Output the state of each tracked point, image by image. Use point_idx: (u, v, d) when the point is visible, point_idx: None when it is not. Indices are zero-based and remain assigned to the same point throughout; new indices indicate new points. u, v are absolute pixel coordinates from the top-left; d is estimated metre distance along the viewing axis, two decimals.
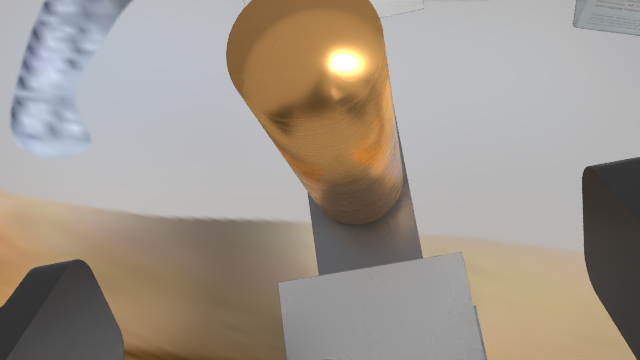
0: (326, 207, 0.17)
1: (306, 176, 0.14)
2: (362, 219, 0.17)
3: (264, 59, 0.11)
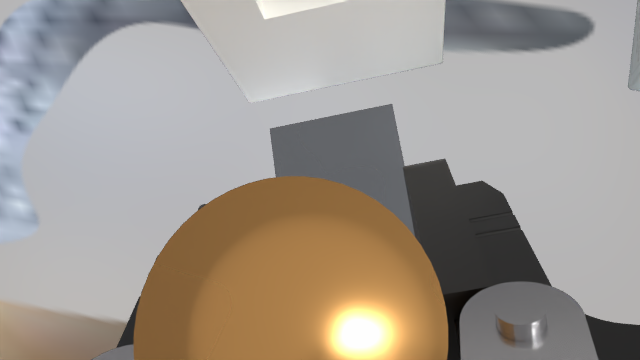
0: None
1: None
2: None
3: (207, 356, 0.05)
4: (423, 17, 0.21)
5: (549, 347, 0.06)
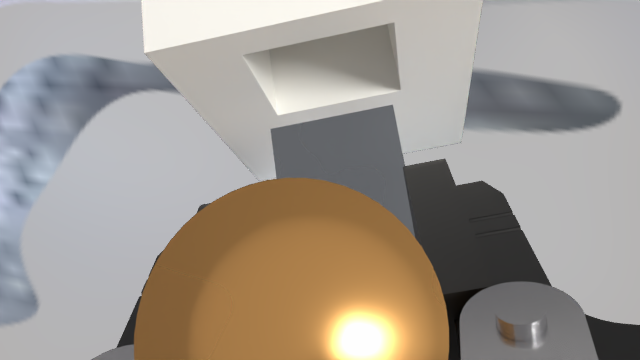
0: None
1: None
2: None
3: (207, 358, 0.05)
4: (444, 107, 0.20)
5: (549, 347, 0.06)
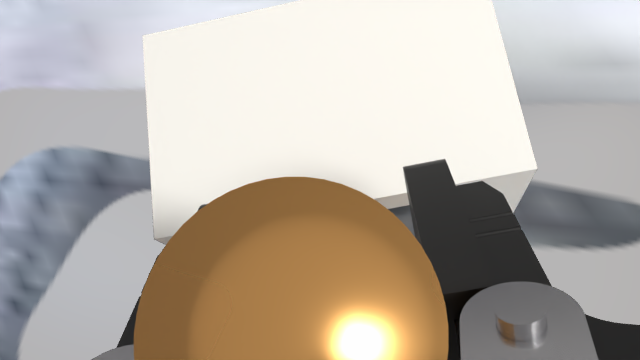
0: None
1: None
2: None
3: (207, 356, 0.05)
4: None
5: (549, 347, 0.06)
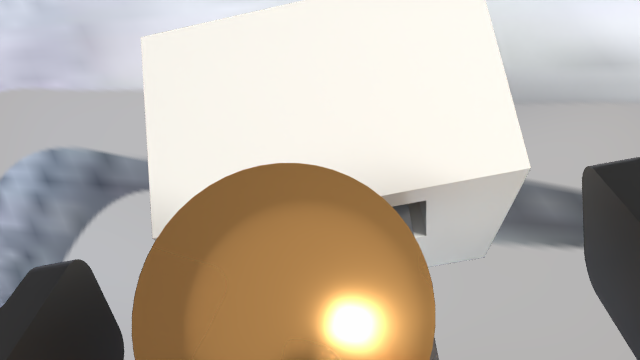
0: None
1: None
2: None
3: (203, 336, 0.06)
4: (470, 241, 0.19)
5: None
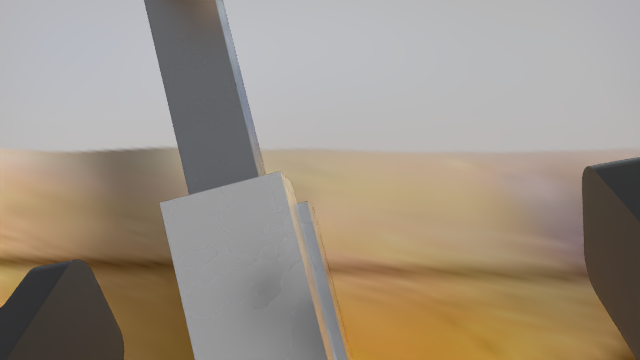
0: None
1: None
2: None
3: None
4: None
5: None
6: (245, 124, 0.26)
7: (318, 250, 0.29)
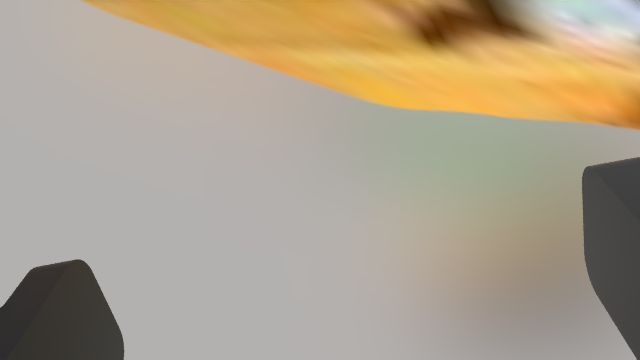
0: None
1: None
2: None
3: None
4: None
5: None
6: None
7: None
